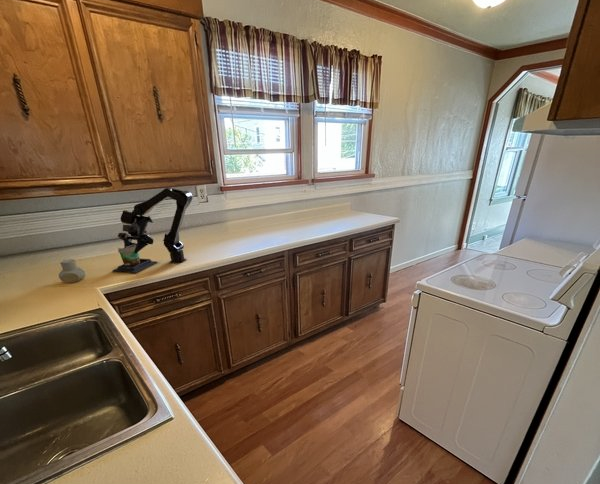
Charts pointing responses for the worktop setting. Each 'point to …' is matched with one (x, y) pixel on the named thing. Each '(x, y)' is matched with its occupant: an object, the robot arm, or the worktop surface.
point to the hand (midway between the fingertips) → (130, 252)
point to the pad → (135, 267)
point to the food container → (129, 255)
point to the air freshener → (71, 271)
